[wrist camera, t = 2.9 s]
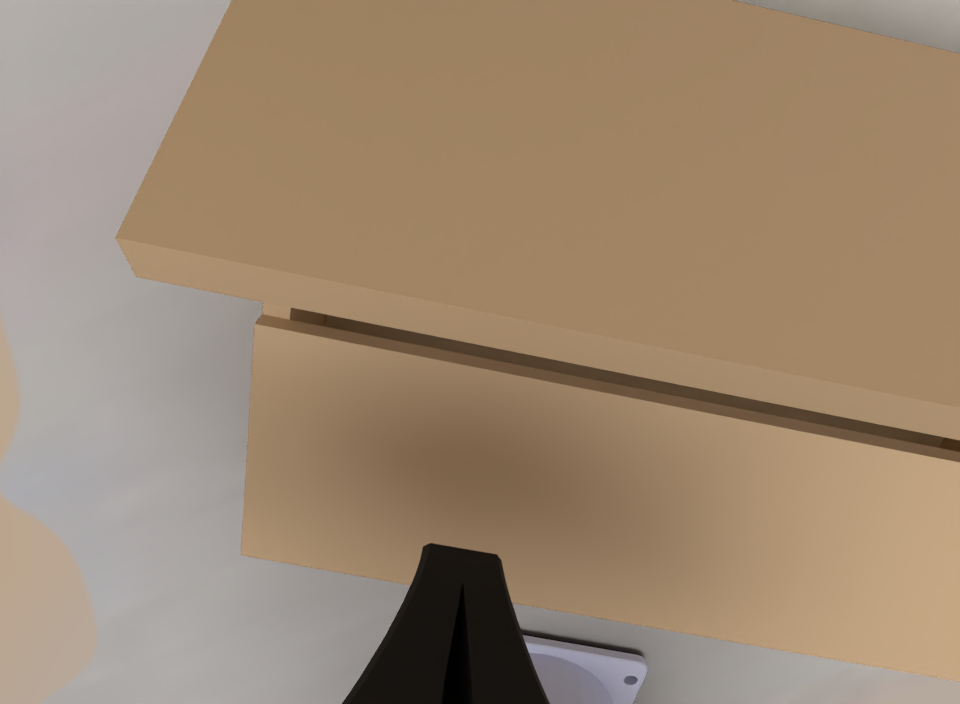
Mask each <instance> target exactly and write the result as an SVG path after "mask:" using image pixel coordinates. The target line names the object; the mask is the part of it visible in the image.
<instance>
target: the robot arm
mask: <svg viewBox="0 0 960 704" xmlns="http://www.w3.org/2000/svg"><path fill="white" fill-rule="evenodd" d="M647 671H648V668H647V663H646V660H645V659H644V658H643V657H642V656H639V655H635V654H630V653H624V652H618V651H612V650H607V649H601V648H595V647H589V646H584V645H578V644H572V643H566V642H560V641H555V640H549V639H543V638H537V637H532V636H526V635H522V633H521V630H520V627H519V624H518V621H517V618H516V615H515V611H514V608H513V605H512V602H511V598H510V595H509V591H508V587H507V584H506V580H505V575H504V571H503V566H502V560H501V559H500V558H499V556H498V555H497V554H492V553H486V552H480V551H474V550H469V549H463V548H457V547H451V546H445V545H439V544H434V543H429V544H427V545H425V546H423V548H422V553H421V558H420V562H419V565H418V568H417V571H416V574H415V576H414V579H413V581H412V584H411V586H410V588H409V590H408V593H407V595H406V597H405V599H404V601H403V603H402V605H401V607H400V609H399V611H398V613H397V615H396V617H395V619H394V621H393V623H392V625H391V626H390V628H389V630H388V632H387V634H386V636H385V637H384V639H383V641H382V643H381V644H380V646H379V647H378V649H377V651H376V652H375V654H374V656H373V657H372V659H371V660H370V662H369V664H368V665H367V667H366V669H365V670H364V672H363V673H362V675H361V677H360V678H359V680H358V681H357V683H356V684H355V686H354V687H353V689H352V690H351V692H350V693H349V694H348V696H347V697H346V699H345V700H344V702H343V703H342V704H633V702H634V700H635V698H636V695H637V693H638V691H639V689H640V687H641V685H642V683H643V681H644V678H645V676H646V674H647Z"/></svg>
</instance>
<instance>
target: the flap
mask: <svg viewBox="0 0 960 704" xmlns="http://www.w3.org/2000/svg"><path fill="white" fill-rule="evenodd" d="M115 238H116V240H117V242H118V243H119V245H120V247H121V249H122V251H123V253H124V255H125V257H126V258H127V260H128V262H129V264H130V266H131V268H132V270H133V272H134V273H135V275H136V277H140V278H145V279H150V280H155V281H160V282H165V283H170V284H175V285H180V286H185V287H190V288H195V289H200V290H205V291H210V292H215V293H220V294H225V295H231V296H236V297H241V298H246V299H251V300H256V301H261V302H266V303H271V304H276V305H281V306H286V307H291V308H296V309H301V310H306V311H311V312H316V313H321V314H326V315H331V316H336V317H341V318H346V319H351V320H356V321H361V322H366V323H371V324H376V325H382V326H387V327H392V328H397V329H402V330H407V331H412V332H417V333H422V334H427V335H432V336H437V337H442V338H447V339H452V340H457V341H462V342H467V343H472V344H477V345H482V346H487V347H492V348H497V349H502V350H507V351H512V352H517V353H522V354H527V355H533V356H538V357H543V358H548V359H553V360H558V361H563V362H568V363H573V364H578V365H583V366H588V367H593V368H598V369H603V370H608V371H613V372H618V373H623V374H628V375H633V376H638V377H643V378H648V379H653V380H658V381H663V382H668V383H673V384H678V385H683V386H689V387H694V388H699V389H704V390H709V391H714V392H719V393H724V394H729V395H734V396H739V397H744V398H749V399H754V400H759V401H764V402H769V403H774V404H779V405H784V406H789V407H794V408H799V409H804V410H809V411H814V412H819V413H824V414H829V415H834V416H840V417H845V418H850V419H855V420H860V421H865V422H870V423H875V424H880V425H885V426H890V427H895V428H900V429H905V430H910V431H915V432H920V433H925V434H930V435H935V436H940V437H945V438H950V439H955V440H960V54H959V53H955V52H950V51H946V50H942V49H938V48H933V47H929V46H925V45H921V44H916V43H912V42H908V41H904V40H899V39H895V38H891V37H887V36H882V35H878V34H874V33H870V32H865V31H861V30H857V29H853V28H848V27H844V26H840V25H836V24H831V23H827V22H823V21H819V20H814V19H810V18H806V17H802V16H797V15H793V14H789V13H785V12H780V11H776V10H772V9H768V8H763V7H759V6H755V5H751V4H746V3H742V2H738V1H734V0H232V1H231V3H230V5H229V7H228V9H227V11H226V13H225V15H224V17H223V19H222V21H221V23H220V25H219V27H218V29H217V32H216V34H215V36H214V38H213V40H212V42H211V44H210V46H209V48H208V50H207V52H206V54H205V56H204V58H203V60H202V62H201V64H200V66H199V68H198V70H197V72H196V74H195V76H194V78H193V80H192V82H191V85H190V87H189V89H188V91H187V93H186V95H185V97H184V99H183V101H182V103H181V105H180V107H179V109H178V111H177V113H176V115H175V117H174V119H173V121H172V123H171V125H170V127H169V129H168V131H167V133H166V135H165V138H164V140H163V142H162V144H161V146H160V148H159V150H158V152H157V154H156V156H155V158H154V160H153V162H152V164H151V166H150V168H149V170H148V172H147V174H146V176H145V178H144V180H143V182H142V184H141V186H140V188H139V191H138V193H137V195H136V197H135V199H134V201H133V203H132V205H131V207H130V209H129V211H128V213H127V215H126V217H125V219H124V221H123V223H122V225H121V227H120V229H119V231H118V233H117V235H116V237H115Z"/></svg>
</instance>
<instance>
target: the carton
mask: <svg viewBox="0 0 960 704" xmlns="http://www.w3.org/2000/svg"><path fill="white" fill-rule="evenodd" d="M429 543H434V544H439V545H445V546H451V547H457V548H463V549H469V550H474V551H480V552H486V553H492V554H497V555H498V556H499V558H500V559H501V560H502V566H503V571H504V575H505V580H506V584H507V587H508V591H509V595H510V598H511V602H512V603H515V604H521V605H527V606H532V607H538V608H544V609H549V610H555V611H561V612H567V613H572V614H578V615H584V616H589V617H595V618H601V619H606V620H612V621H618V622H623V623H629V624H635V625H640V626H646V627H652V628H657V629H663V630H669V631H675V632H680V633H686V634H692V635H697V636H703V637H709V638H714V639H720V640H726V641H731V642H737V643H743V644H748V645H754V646H760V647H765V648H771V649H777V650H783V651H788V652H794V653H800V654H805V655H811V656H817V657H822V658H828V659H834V660H839V661H845V662H851V663H856V664H862V665H868V666H873V667H879V668H885V669H891V670H896V671H902V672H908V673H913V674H919V675H925V676H930V677H936V678H942V679H948V680H954V681H959V682H960V440H955V439H950V438H945V437H940V436H935V435H930V434H925V433H920V432H915V431H910V430H905V429H900V428H895V427H890V426H885V425H880V424H875V423H870V422H865V421H860V420H855V419H850V418H845V417H840V416H834V415H829V414H824V413H819V412H814V411H809V410H804V409H799V408H794V407H789V406H784V405H779V404H774V403H769V402H764V401H759V400H754V399H749V398H744V397H739V396H734V395H729V394H724V393H719V392H714V391H709V390H704V389H699V388H694V387H689V386H683V385H678V384H673V383H668V382H663V381H658V380H653V379H648V378H643V377H638V376H633V375H628V374H623V373H618V372H613V371H608V370H603V369H598V368H593V367H588V366H583V365H578V364H573V363H568V362H563V361H558V360H553V359H548V358H543V357H538V356H533V355H527V354H522V353H517V352H512V351H507V350H502V349H497V348H492V347H487V346H482V345H477V344H472V343H467V342H462V341H457V340H452V339H447V338H442V337H437V336H432V335H427V334H422V333H417V332H412V331H407V330H402V329H397V328H392V327H387V326H382V325H376V324H371V323H366V322H361V321H356V320H351V319H346V318H341V317H336V316H331V315H326V314H321V313H316V312H311V311H306V310H301V309H296V308H291V307H286V306H281V305H276V304H271V303H266V302H263V309H262V315H261V316H260V318H259V319H258V320H257V322H256V323H255V328H254V344H253V361H252V377H251V394H250V411H249V427H248V444H247V460H246V477H245V494H244V510H243V527H242V543H241V555H243V556H248V557H254V558H260V559H265V560H271V561H277V562H282V563H288V564H294V565H299V566H305V567H311V568H316V569H322V570H328V571H333V572H339V573H345V574H351V575H356V576H362V577H368V578H373V579H379V580H385V581H390V582H396V583H402V584H407V585H411V584H412V581H413V579H414V576H415V574H416V571H417V568H418V565H419V562H420V558H421V553H422V548H423V546H425V545H427V544H429Z"/></svg>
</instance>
